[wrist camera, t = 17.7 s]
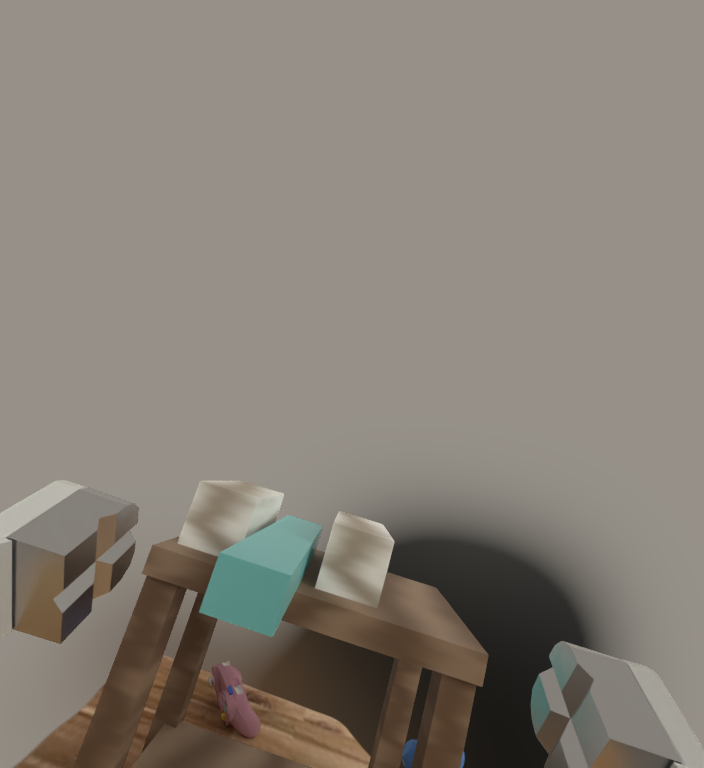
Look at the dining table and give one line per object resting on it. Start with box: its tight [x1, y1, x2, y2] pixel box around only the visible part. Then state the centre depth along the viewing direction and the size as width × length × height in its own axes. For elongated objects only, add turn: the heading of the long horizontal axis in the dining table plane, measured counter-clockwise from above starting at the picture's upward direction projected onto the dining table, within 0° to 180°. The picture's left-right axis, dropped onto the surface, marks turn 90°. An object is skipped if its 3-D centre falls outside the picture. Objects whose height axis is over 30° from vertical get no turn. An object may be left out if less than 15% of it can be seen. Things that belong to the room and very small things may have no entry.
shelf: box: [74, 481, 488, 768], centre depth 35 cm, size 25×18×31 cm
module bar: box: [199, 515, 323, 637], centre depth 33 cm, size 4×24×3 cm, turn 0°
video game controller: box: [209, 661, 260, 738], centre depth 56 cm, size 10×5×7 cm, turn 33°
